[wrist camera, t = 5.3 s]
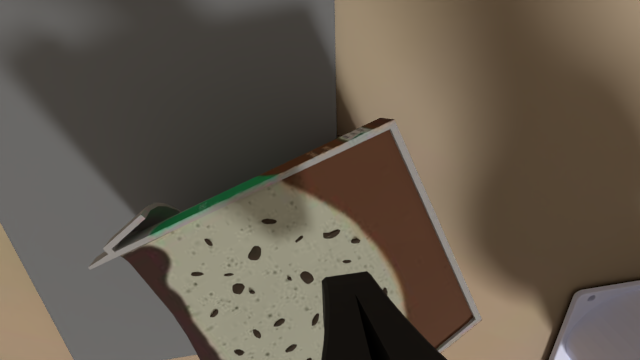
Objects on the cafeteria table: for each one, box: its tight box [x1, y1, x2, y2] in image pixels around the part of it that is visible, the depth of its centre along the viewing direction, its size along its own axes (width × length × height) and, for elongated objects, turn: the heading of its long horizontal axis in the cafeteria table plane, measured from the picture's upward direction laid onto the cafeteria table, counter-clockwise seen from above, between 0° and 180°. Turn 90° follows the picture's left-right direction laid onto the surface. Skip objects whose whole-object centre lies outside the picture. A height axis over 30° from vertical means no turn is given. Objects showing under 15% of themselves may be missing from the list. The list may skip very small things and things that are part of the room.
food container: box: [88, 118, 482, 360], centre depth 17 cm, size 12×6×10 cm
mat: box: [0, 0, 337, 360], centre depth 17 cm, size 14×20×1 cm
